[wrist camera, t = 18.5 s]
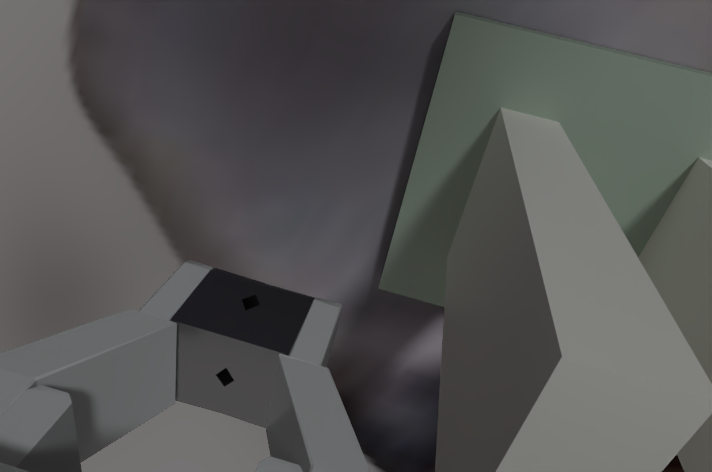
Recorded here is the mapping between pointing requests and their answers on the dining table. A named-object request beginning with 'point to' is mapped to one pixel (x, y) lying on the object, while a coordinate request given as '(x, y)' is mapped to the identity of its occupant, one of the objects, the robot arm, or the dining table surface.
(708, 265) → the domino
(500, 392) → the domino
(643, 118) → the domino board
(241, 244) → the dining table surface
